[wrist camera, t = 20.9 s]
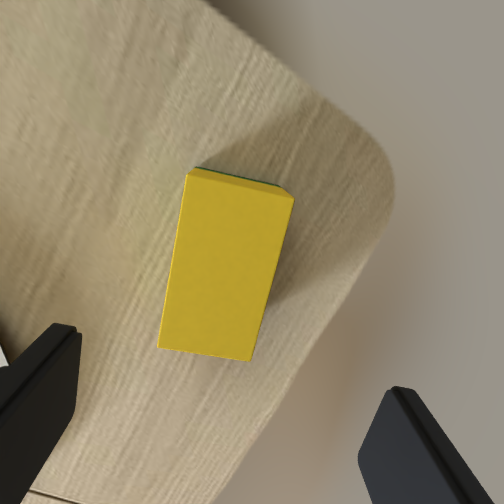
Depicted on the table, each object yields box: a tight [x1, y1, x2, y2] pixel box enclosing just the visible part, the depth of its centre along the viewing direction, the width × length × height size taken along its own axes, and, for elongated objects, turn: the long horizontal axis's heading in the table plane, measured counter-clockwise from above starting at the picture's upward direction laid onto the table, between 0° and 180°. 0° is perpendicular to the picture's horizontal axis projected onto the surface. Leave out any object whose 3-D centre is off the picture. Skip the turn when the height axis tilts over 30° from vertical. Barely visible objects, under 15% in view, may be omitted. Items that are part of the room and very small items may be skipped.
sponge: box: [157, 167, 295, 362], centre depth 18 cm, size 9×5×5 cm, turn 167°
